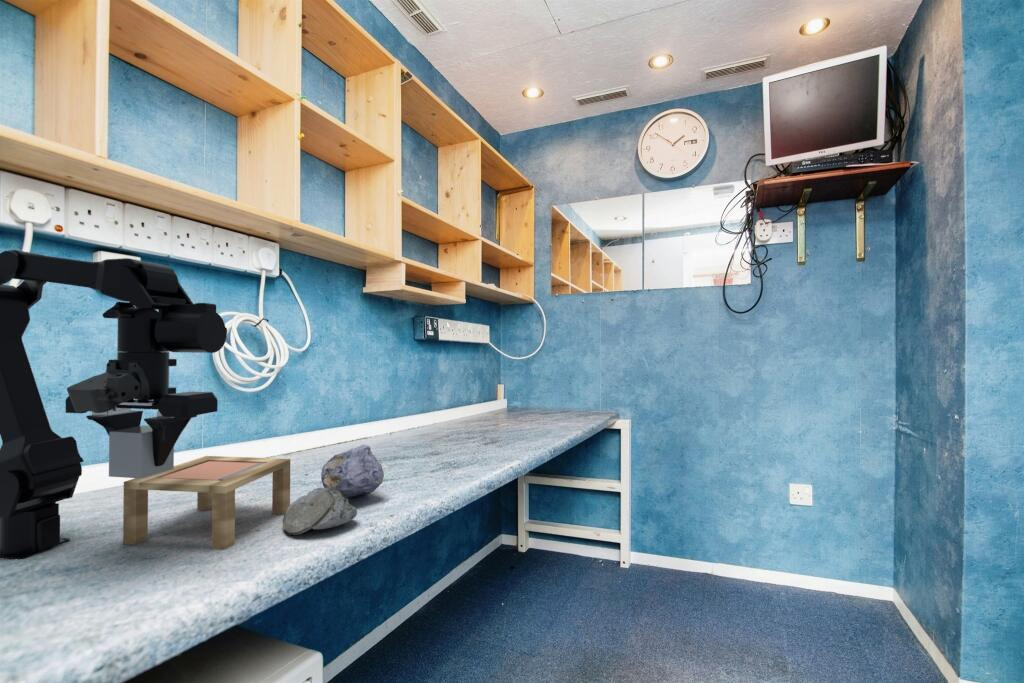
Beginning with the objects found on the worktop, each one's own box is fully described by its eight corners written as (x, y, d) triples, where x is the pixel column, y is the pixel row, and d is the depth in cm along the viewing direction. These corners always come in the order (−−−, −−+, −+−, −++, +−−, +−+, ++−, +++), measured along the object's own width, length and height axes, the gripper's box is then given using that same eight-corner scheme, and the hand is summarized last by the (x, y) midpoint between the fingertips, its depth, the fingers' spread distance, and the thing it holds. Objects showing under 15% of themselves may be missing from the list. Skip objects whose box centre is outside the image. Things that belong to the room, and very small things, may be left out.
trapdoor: (159, 483, 72) (159, 476, 72) (209, 466, 82) (209, 460, 82) (224, 486, 71) (224, 479, 71) (266, 468, 81) (266, 462, 81)
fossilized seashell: (283, 501, 80) (319, 463, 77) (330, 519, 84) (365, 485, 82) (270, 550, 72) (310, 510, 69) (323, 568, 76) (362, 531, 73)
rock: (358, 488, 96) (359, 438, 96) (390, 499, 89) (390, 446, 89) (307, 502, 87) (307, 448, 87) (337, 516, 81) (337, 457, 81)
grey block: (108, 476, 64) (109, 431, 64) (142, 466, 69) (143, 425, 69) (141, 478, 63) (141, 433, 63) (173, 468, 68) (174, 426, 68)
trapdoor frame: (123, 543, 69) (123, 481, 69) (205, 506, 85) (206, 455, 85) (224, 549, 67) (225, 486, 67) (290, 510, 83) (290, 458, 83)
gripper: (19, 352, 59) (17, 477, 59) (150, 354, 56) (148, 485, 56) (107, 350, 70) (106, 456, 70) (221, 352, 67) (219, 462, 67)
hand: (142, 464), depth 66 cm, fingers closed on grey block, 5 cm apart
